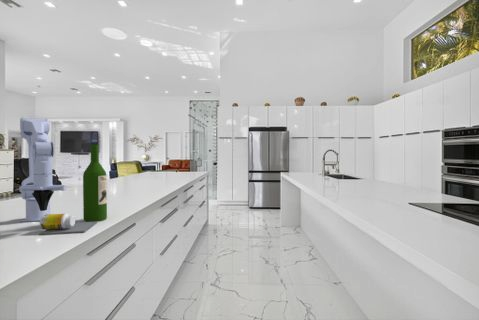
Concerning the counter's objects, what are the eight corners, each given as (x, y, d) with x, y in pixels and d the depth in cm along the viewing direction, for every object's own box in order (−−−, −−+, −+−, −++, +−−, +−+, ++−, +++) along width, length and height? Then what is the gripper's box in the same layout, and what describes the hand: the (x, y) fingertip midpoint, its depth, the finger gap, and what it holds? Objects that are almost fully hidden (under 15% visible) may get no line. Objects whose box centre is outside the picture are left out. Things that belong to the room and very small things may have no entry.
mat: (58, 224, 107) (58, 223, 107) (97, 222, 109) (97, 221, 109) (39, 235, 93) (39, 233, 93) (84, 232, 96) (84, 230, 96)
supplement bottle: (36, 226, 94) (67, 225, 95) (42, 211, 97) (71, 211, 98) (44, 231, 99) (74, 230, 100) (49, 217, 102) (77, 216, 103)
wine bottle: (100, 222, 111) (99, 144, 110) (78, 222, 111) (77, 144, 110) (110, 217, 119) (110, 145, 119) (91, 217, 120) (90, 145, 119)
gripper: (13, 175, 94) (14, 213, 94) (59, 174, 97) (60, 211, 97) (25, 173, 101) (26, 209, 101) (68, 173, 103) (68, 207, 104)
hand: (43, 210), depth 99 cm, fingers closed
